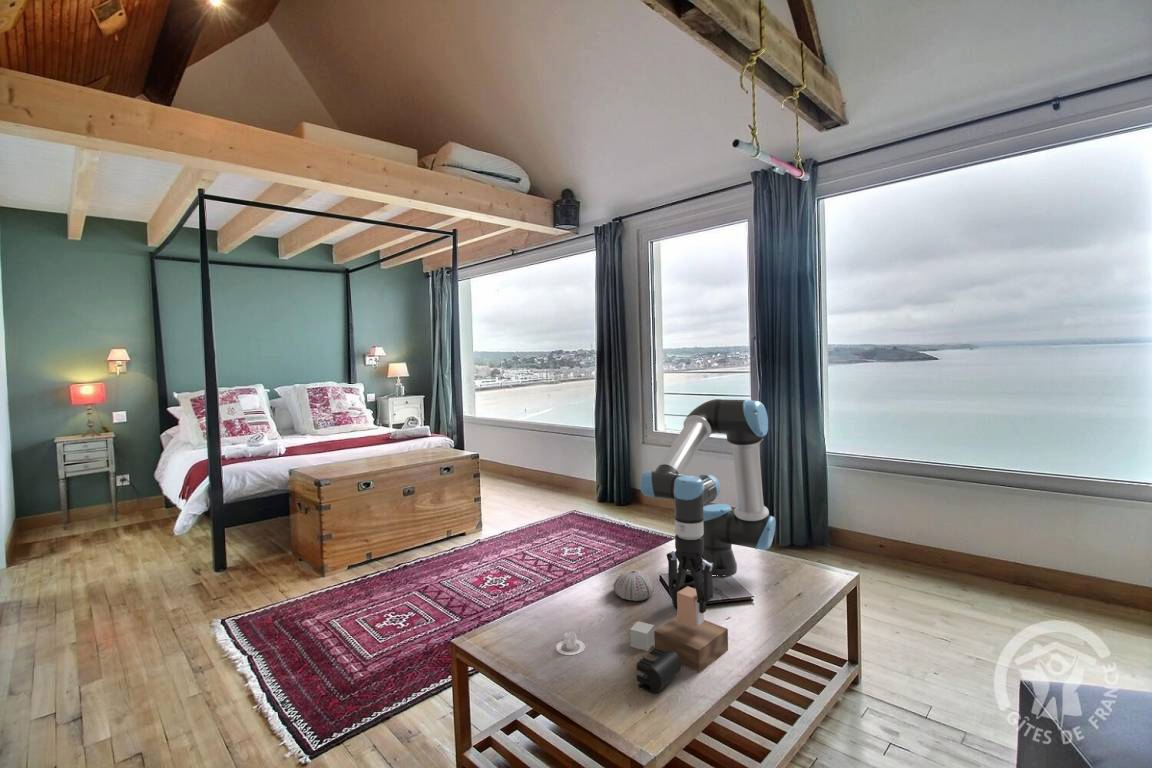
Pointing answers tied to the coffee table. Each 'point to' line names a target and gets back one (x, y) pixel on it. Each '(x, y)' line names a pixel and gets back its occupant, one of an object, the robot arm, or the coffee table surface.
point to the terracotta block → (687, 606)
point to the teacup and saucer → (570, 643)
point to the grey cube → (642, 635)
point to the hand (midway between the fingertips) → (690, 619)
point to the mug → (688, 582)
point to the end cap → (658, 670)
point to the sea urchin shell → (633, 585)
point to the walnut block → (693, 642)
